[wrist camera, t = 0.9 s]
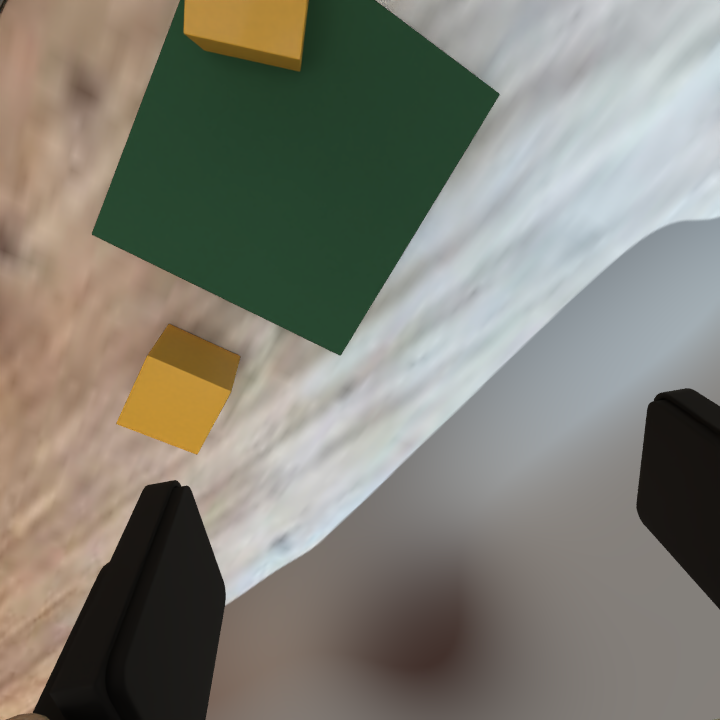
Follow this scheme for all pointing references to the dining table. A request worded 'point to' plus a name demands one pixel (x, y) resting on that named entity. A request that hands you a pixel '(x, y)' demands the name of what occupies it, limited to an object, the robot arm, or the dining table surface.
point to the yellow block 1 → (180, 390)
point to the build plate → (2, 4)
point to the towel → (294, 165)
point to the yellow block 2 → (249, 29)
